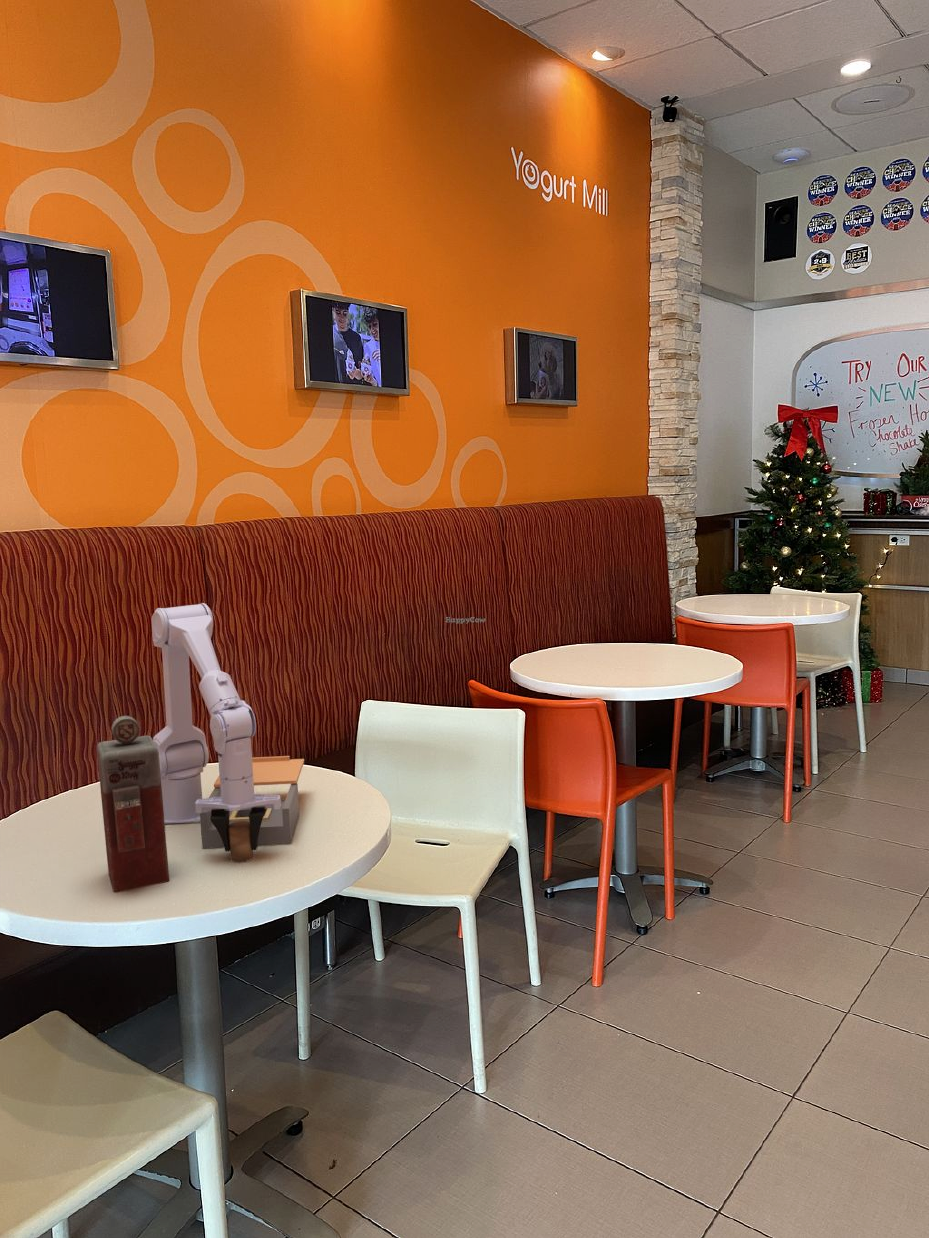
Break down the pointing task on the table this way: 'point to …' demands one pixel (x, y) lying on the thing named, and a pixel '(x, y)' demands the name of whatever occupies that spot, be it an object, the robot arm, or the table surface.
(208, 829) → the housing
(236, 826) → the brown cylinder
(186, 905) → the table surface
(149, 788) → the vintage gas pump
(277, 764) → the lid
